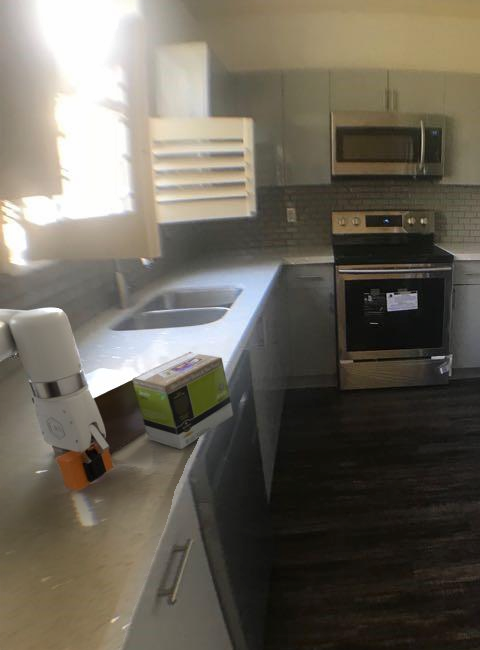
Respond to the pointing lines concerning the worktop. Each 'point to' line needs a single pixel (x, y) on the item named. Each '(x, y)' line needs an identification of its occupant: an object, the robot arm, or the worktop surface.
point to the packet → (78, 468)
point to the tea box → (183, 398)
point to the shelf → (115, 406)
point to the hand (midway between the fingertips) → (89, 474)
